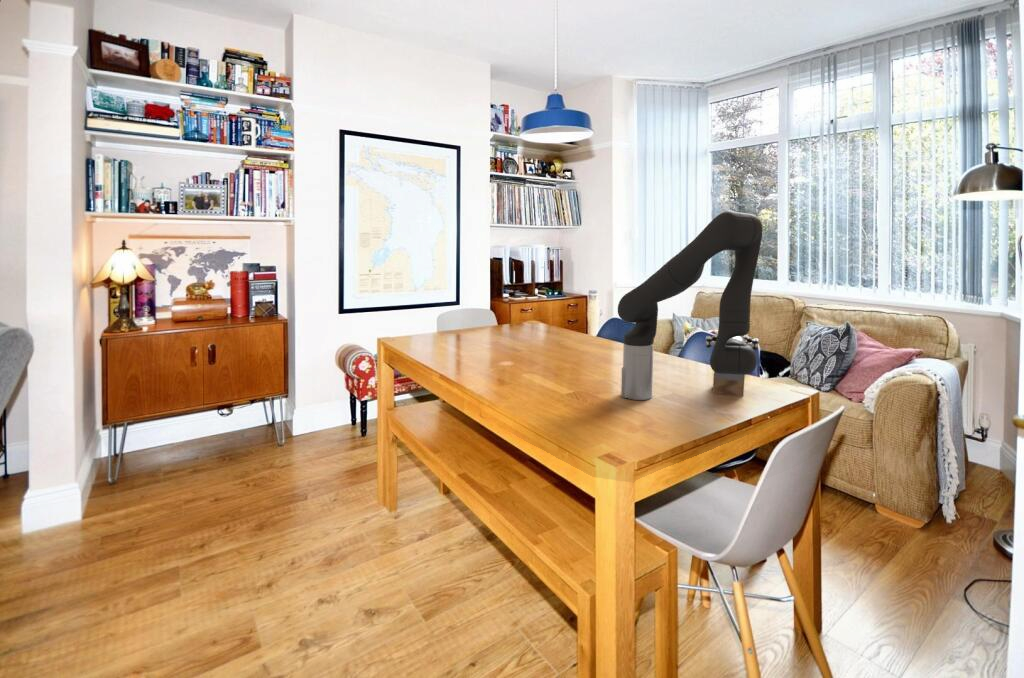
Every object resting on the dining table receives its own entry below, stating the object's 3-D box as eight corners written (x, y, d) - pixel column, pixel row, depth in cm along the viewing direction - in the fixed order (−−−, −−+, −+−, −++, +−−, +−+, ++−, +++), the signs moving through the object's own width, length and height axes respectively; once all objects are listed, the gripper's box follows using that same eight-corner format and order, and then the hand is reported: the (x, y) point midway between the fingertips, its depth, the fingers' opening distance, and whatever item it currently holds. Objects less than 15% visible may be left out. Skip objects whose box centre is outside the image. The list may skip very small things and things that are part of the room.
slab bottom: (713, 394, 172) (713, 379, 171) (713, 387, 181) (713, 372, 180) (743, 396, 169) (744, 381, 168) (741, 389, 177) (742, 374, 177)
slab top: (714, 379, 172) (714, 363, 171) (714, 372, 180) (715, 358, 179) (744, 381, 168) (745, 365, 167) (743, 374, 176) (744, 359, 176)
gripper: (761, 335, 143) (757, 327, 158) (705, 333, 148) (706, 325, 163) (759, 363, 144) (756, 351, 159) (703, 359, 149) (705, 349, 164)
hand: (731, 338), depth 161 cm, fingers open, 8 cm apart
